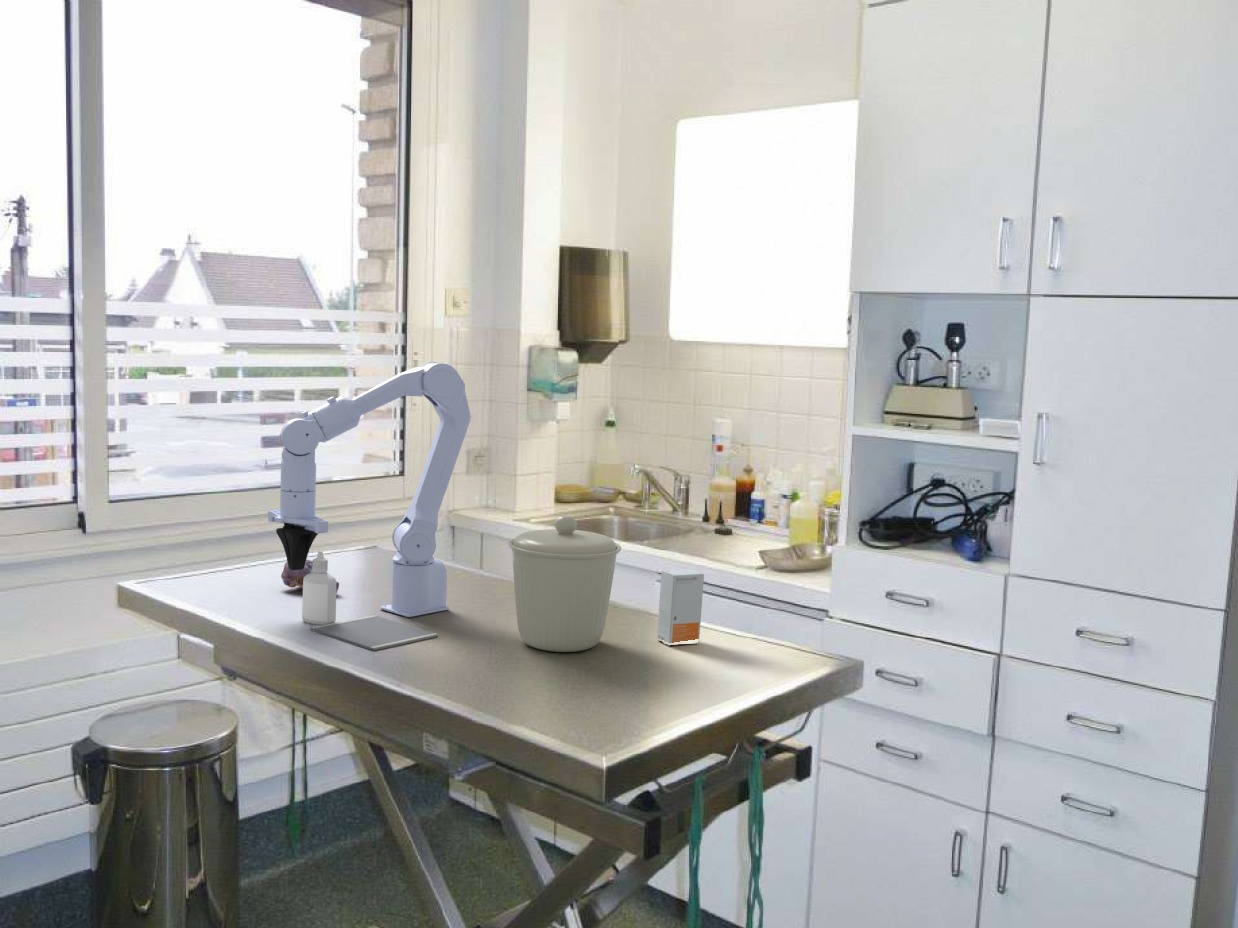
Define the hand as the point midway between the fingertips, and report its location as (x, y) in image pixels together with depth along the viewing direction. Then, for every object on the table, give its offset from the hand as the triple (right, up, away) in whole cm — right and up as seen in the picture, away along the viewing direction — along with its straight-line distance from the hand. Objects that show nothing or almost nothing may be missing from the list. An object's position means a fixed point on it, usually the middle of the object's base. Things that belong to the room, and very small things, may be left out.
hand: (296, 569), depth 189 cm
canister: (+45, -12, -9) cm, 48 cm away
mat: (+15, -10, -9) cm, 20 cm away
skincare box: (+65, -12, -5) cm, 66 cm away
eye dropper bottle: (+5, -9, -3) cm, 10 cm away
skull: (-3, -6, +18) cm, 19 cm away
